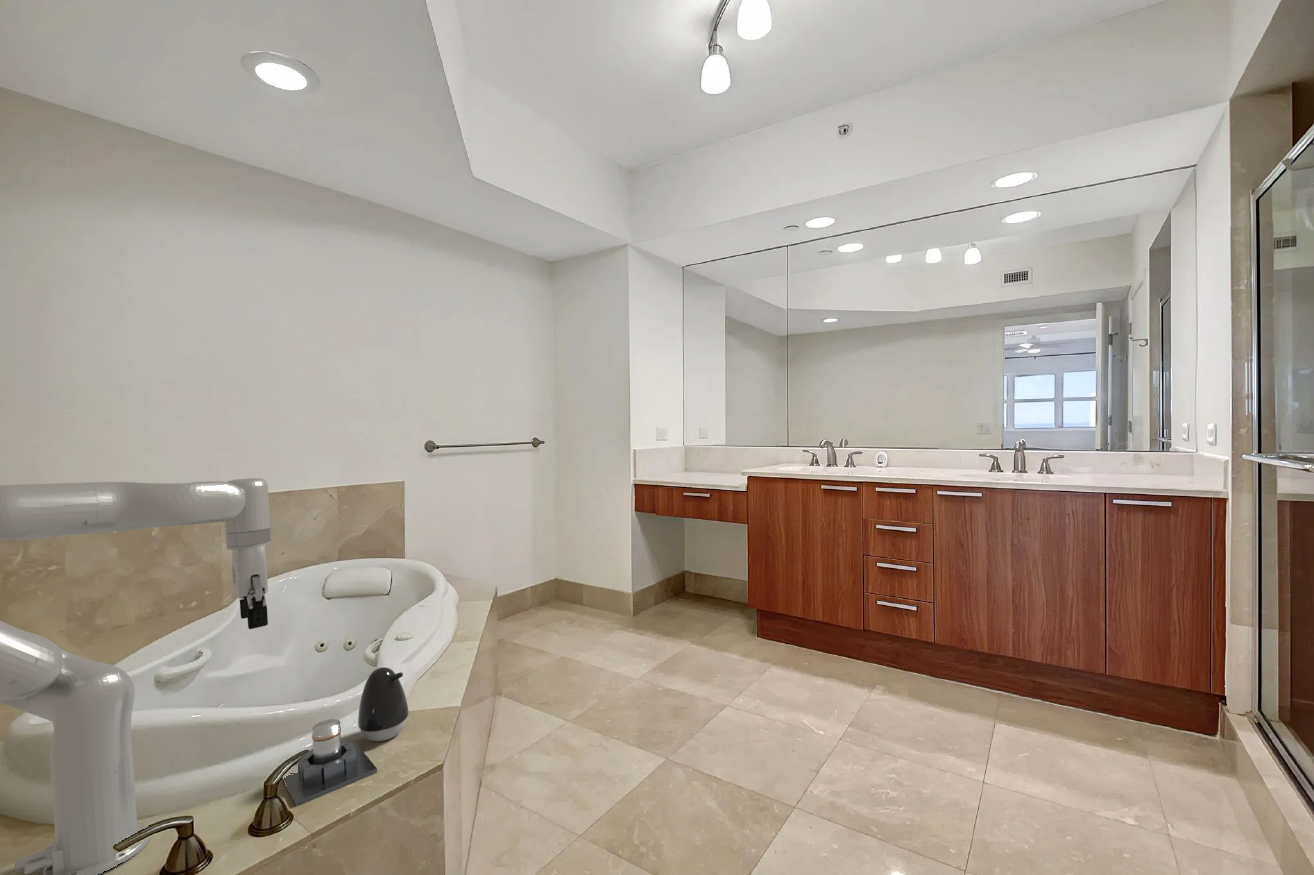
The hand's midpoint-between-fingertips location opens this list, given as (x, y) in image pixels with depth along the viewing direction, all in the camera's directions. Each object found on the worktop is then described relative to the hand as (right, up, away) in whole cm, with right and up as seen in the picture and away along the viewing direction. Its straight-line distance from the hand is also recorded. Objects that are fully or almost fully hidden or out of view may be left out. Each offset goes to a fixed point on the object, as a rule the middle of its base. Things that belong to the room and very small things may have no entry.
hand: (254, 621), depth 118 cm
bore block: (+17, -30, -3) cm, 34 cm away
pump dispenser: (+22, -29, +11) cm, 38 cm away
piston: (+17, -29, -3) cm, 33 cm away
